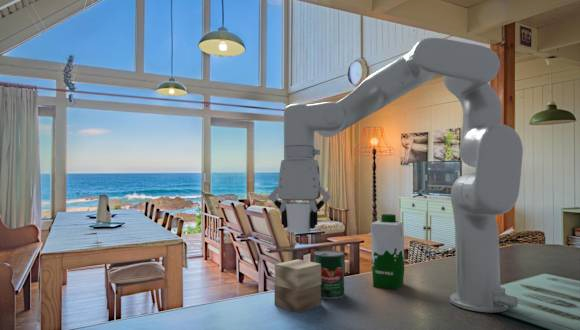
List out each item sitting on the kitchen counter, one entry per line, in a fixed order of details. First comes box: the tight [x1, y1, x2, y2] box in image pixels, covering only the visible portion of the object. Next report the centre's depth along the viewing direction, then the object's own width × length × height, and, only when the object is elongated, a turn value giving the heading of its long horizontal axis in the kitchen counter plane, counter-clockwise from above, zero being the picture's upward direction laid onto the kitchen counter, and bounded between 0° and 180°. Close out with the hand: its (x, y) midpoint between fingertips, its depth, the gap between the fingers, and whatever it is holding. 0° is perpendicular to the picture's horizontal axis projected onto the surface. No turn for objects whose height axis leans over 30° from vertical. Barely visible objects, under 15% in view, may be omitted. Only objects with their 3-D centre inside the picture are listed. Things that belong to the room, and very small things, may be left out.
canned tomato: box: [313, 249, 345, 300], centre depth 99 cm, size 8×8×11 cm
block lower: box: [273, 284, 322, 314], centre depth 91 cm, size 8×8×5 cm
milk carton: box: [370, 213, 405, 290], centre depth 108 cm, size 9×9×20 cm
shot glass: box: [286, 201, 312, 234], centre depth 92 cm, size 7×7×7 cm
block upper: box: [274, 258, 321, 291], centre depth 91 cm, size 8×8×5 cm
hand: (299, 227), depth 92 cm, fingers closed on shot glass, 6 cm apart
